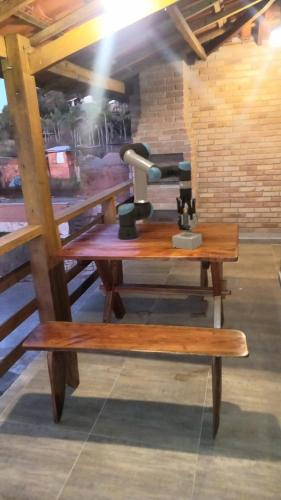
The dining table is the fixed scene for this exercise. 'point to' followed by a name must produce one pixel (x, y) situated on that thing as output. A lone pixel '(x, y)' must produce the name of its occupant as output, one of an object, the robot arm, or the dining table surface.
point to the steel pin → (186, 218)
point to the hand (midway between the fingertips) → (186, 224)
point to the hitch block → (187, 240)
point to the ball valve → (194, 223)
